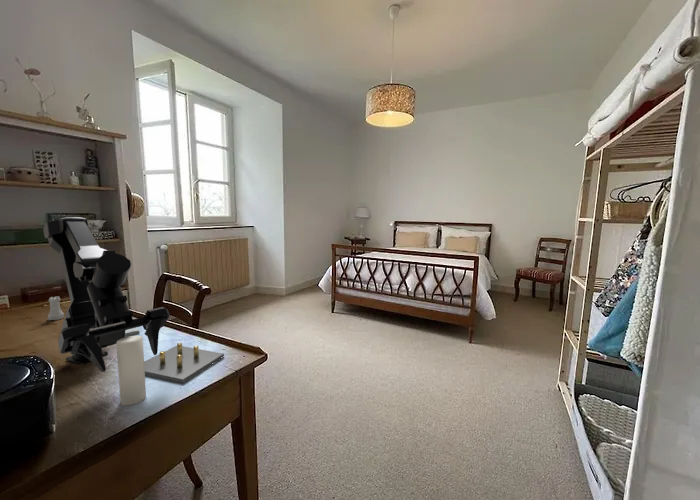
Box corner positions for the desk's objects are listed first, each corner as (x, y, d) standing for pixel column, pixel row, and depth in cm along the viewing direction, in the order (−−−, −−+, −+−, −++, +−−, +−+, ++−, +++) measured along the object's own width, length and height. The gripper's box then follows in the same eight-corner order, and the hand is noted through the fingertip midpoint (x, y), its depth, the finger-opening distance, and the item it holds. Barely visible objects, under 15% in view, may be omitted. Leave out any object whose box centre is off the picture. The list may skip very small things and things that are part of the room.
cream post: (115, 403, 63) (110, 342, 61) (135, 391, 67) (131, 334, 65) (131, 407, 61) (127, 345, 60) (151, 395, 66) (147, 337, 64)
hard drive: (139, 330, 98) (130, 320, 107) (107, 337, 92) (100, 326, 101) (139, 335, 99) (130, 325, 107) (107, 342, 93) (101, 331, 101)
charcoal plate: (130, 371, 75) (129, 356, 74) (177, 348, 88) (177, 335, 88) (183, 383, 70) (182, 367, 70) (224, 356, 84) (223, 343, 83)
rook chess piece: (52, 317, 111) (50, 295, 110) (67, 316, 113) (65, 295, 112) (44, 321, 107) (42, 299, 106) (60, 320, 108) (58, 298, 107)
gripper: (146, 310, 80) (167, 363, 75) (47, 332, 65) (66, 399, 59) (158, 285, 74) (182, 340, 69) (53, 302, 59) (74, 374, 54)
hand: (131, 362), depth 63 cm, fingers open, 9 cm apart
